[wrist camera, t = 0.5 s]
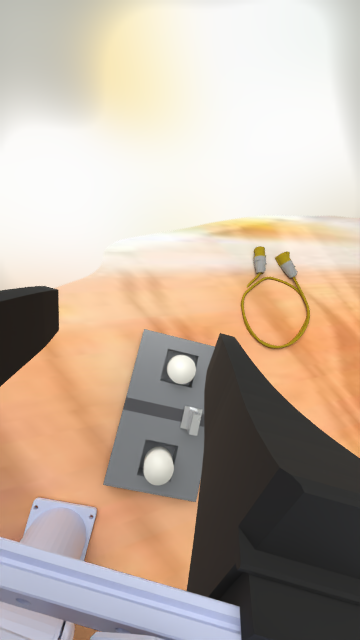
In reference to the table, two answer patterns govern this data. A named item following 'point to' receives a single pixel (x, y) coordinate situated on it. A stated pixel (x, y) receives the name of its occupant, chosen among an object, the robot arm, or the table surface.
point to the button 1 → (158, 466)
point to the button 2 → (181, 369)
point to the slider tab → (191, 420)
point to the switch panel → (161, 419)
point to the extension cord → (289, 271)
